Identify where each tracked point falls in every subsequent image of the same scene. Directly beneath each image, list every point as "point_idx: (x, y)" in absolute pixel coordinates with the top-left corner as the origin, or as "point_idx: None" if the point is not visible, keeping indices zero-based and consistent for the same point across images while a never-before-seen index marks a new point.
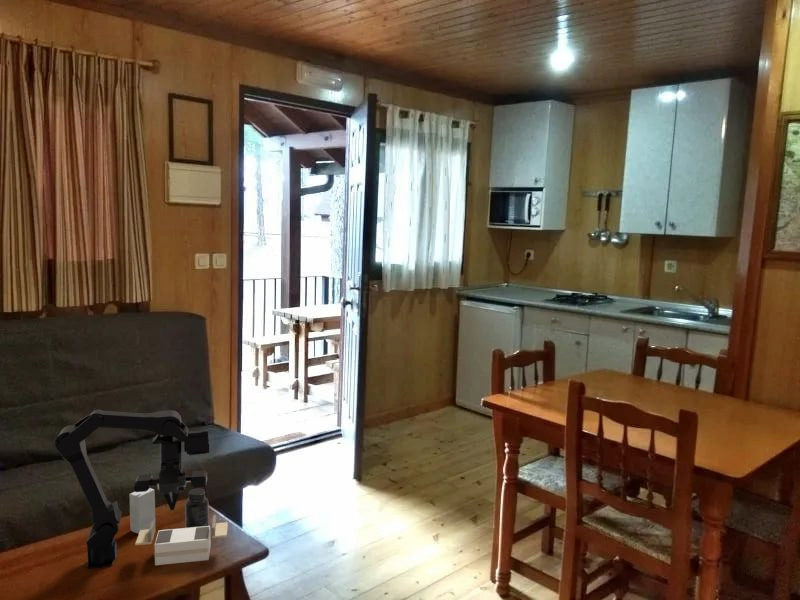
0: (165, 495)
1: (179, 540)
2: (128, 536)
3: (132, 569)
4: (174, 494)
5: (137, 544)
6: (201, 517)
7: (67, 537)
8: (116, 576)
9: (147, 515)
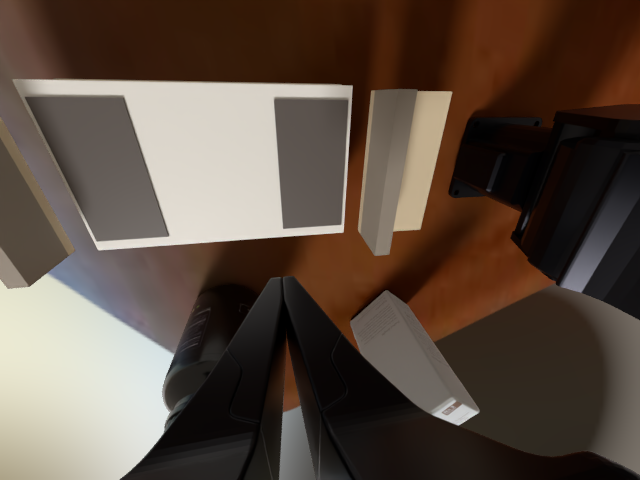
0: (382, 400)
1: (219, 108)
2: (412, 281)
3: (406, 76)
4: (238, 433)
5: (438, 92)
6: (194, 328)
7: (534, 285)
8: (461, 30)
9: (382, 339)
